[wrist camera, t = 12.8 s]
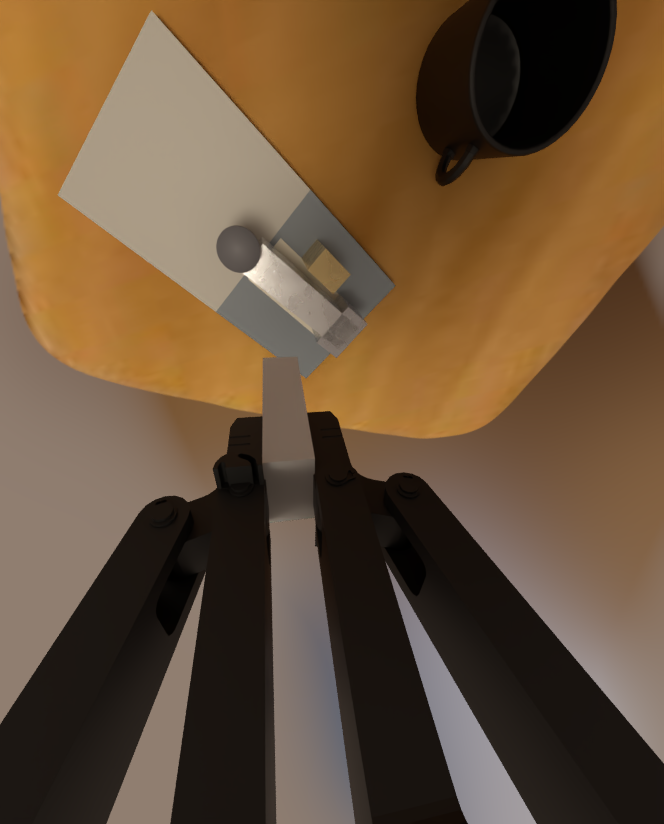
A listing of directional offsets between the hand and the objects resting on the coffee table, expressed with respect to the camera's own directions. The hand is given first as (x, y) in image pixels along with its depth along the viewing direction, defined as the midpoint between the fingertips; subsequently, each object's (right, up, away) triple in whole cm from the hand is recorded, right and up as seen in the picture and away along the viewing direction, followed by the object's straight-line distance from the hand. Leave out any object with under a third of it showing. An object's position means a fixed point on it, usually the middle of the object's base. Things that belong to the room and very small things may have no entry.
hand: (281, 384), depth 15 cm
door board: (-5, +14, +16) cm, 22 cm away
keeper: (+1, +13, +17) cm, 21 cm away
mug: (+13, +25, +13) cm, 31 cm away
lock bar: (-1, +10, +17) cm, 20 cm away
